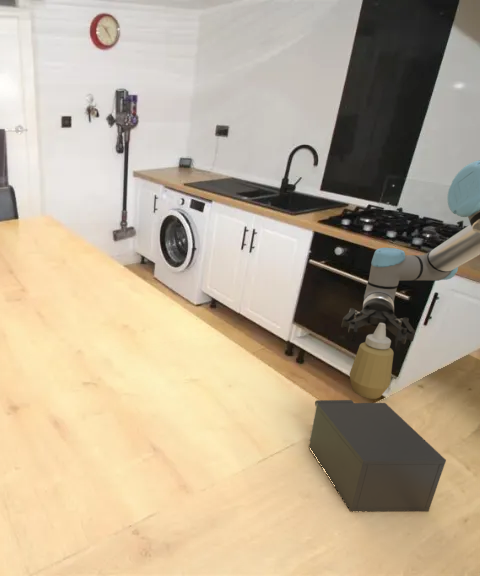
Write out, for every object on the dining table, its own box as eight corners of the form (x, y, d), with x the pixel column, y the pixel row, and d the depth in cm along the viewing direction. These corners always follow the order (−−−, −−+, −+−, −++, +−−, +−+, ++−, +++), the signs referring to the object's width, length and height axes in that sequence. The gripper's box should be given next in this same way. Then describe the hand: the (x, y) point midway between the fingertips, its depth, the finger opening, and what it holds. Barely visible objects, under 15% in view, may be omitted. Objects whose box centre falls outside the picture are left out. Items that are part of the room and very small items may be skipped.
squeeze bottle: (357, 379, 103) (371, 313, 97) (393, 394, 96) (411, 325, 90) (339, 389, 99) (354, 322, 93) (375, 406, 92) (393, 335, 86)
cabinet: (308, 448, 81) (317, 403, 77) (373, 447, 80) (385, 402, 77) (350, 511, 67) (363, 460, 63) (428, 511, 67) (446, 460, 63)
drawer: (299, 426, 86) (306, 390, 82) (354, 425, 85) (363, 389, 82) (347, 496, 69) (357, 454, 66) (416, 495, 69) (429, 454, 66)
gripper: (420, 329, 114) (426, 366, 96) (334, 314, 125) (324, 344, 108) (427, 305, 111) (434, 337, 94) (338, 291, 122) (329, 318, 105)
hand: (375, 341), depth 101 cm, fingers open, 8 cm apart
